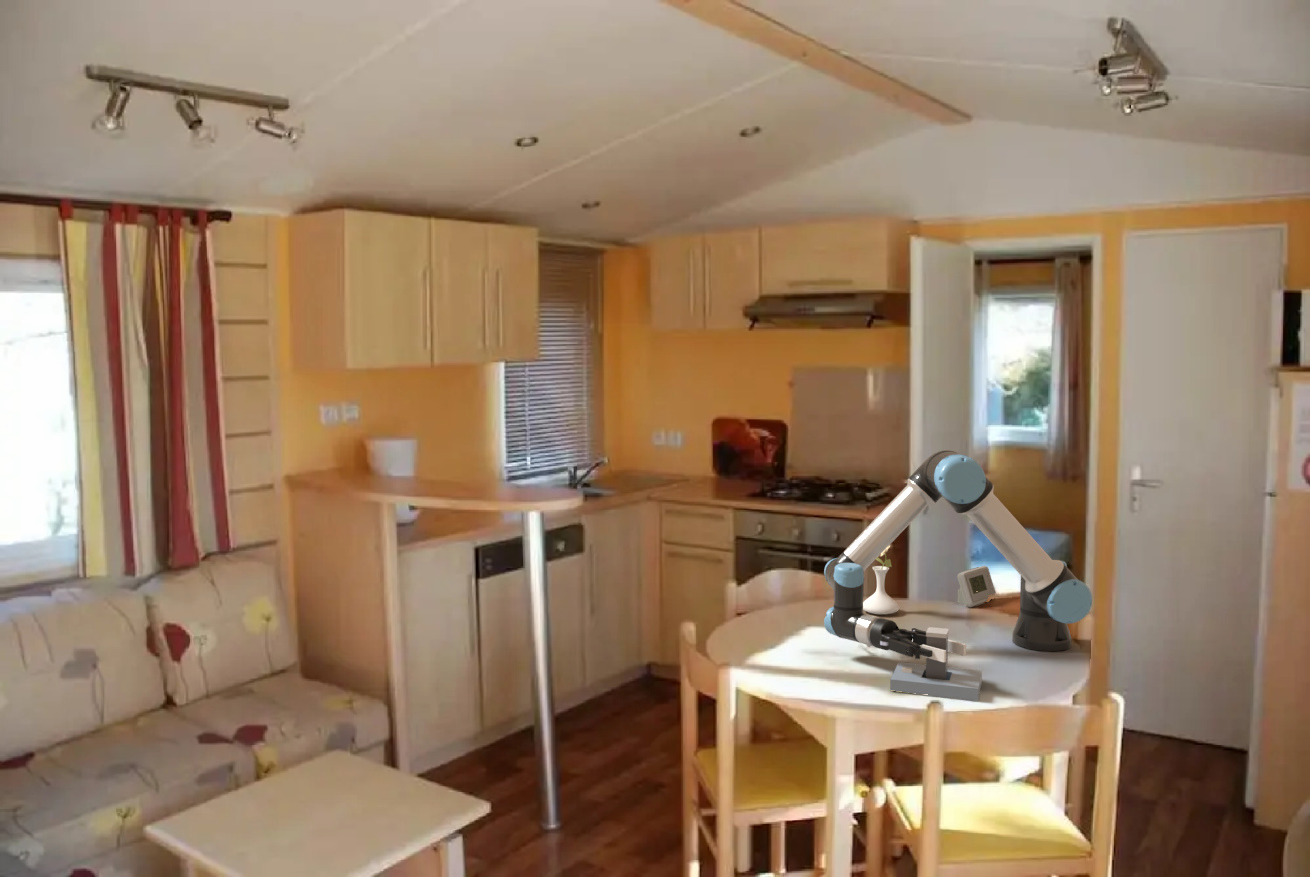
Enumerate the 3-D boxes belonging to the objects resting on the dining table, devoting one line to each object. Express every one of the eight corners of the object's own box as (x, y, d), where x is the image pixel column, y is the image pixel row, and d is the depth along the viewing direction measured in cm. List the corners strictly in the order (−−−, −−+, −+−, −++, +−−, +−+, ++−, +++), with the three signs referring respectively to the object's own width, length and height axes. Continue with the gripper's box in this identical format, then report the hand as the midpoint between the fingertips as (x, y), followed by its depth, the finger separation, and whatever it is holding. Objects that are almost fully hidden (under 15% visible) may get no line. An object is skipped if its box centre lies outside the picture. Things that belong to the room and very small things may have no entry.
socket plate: (981, 682, 260) (982, 667, 260) (977, 701, 247) (978, 685, 247) (898, 673, 267) (898, 659, 267) (890, 691, 254) (890, 676, 254)
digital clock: (968, 609, 328) (969, 575, 327) (946, 603, 336) (947, 569, 335) (1004, 602, 336) (1005, 568, 335) (982, 596, 344) (983, 563, 343)
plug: (947, 685, 259) (948, 628, 257) (945, 691, 254) (946, 634, 253) (927, 683, 260) (928, 627, 259) (924, 689, 256) (926, 632, 255)
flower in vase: (856, 608, 330) (857, 528, 327) (892, 607, 331) (893, 527, 329) (869, 619, 317) (870, 536, 314) (906, 618, 318) (908, 535, 316)
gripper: (902, 639, 277) (979, 660, 259) (851, 654, 264) (928, 677, 247) (902, 611, 276) (980, 630, 258) (852, 625, 264) (929, 646, 246)
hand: (954, 653), depth 253 cm, fingers open, 7 cm apart
